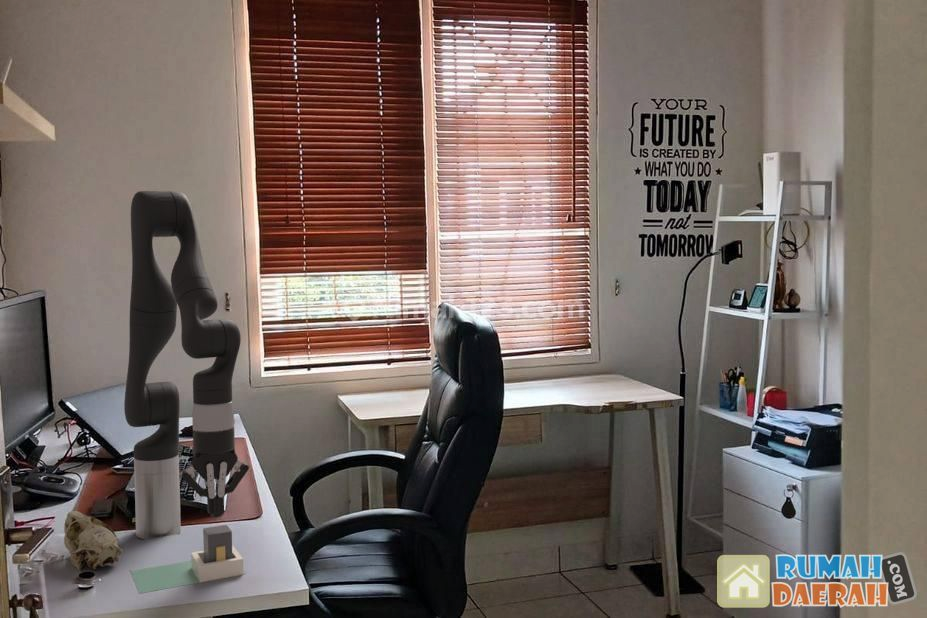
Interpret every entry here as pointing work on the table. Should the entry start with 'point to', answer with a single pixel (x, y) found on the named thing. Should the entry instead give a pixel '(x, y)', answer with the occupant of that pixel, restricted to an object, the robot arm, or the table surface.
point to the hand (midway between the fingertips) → (215, 515)
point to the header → (216, 566)
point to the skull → (90, 541)
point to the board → (165, 577)
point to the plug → (217, 543)
